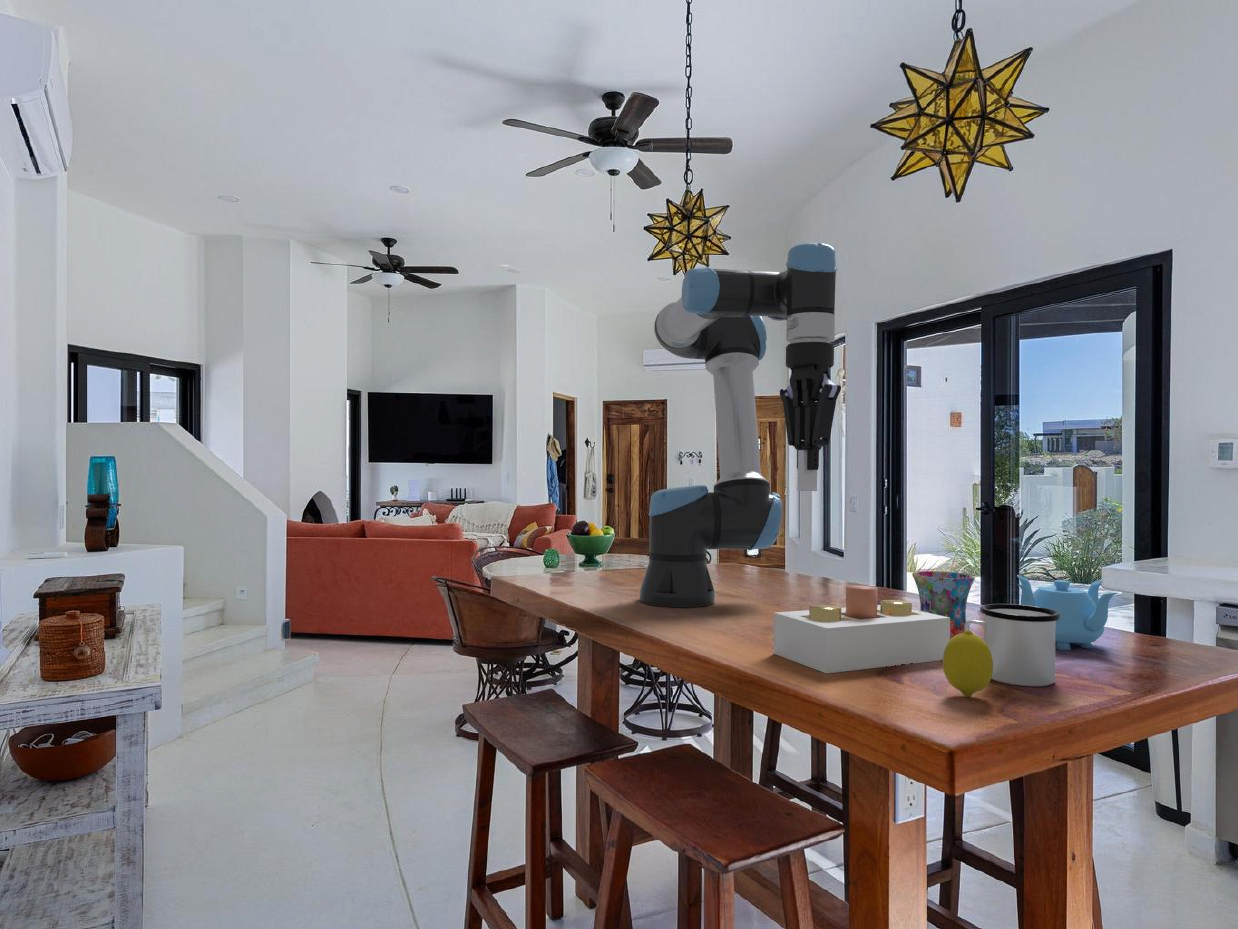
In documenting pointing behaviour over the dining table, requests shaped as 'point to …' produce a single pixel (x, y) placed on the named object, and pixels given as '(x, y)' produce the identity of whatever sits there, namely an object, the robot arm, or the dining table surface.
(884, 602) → the knob far
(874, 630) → the block
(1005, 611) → the mug
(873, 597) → the knob mid
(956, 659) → the lemon
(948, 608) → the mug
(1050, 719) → the dining table surface
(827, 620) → the knob near
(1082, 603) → the teapot
